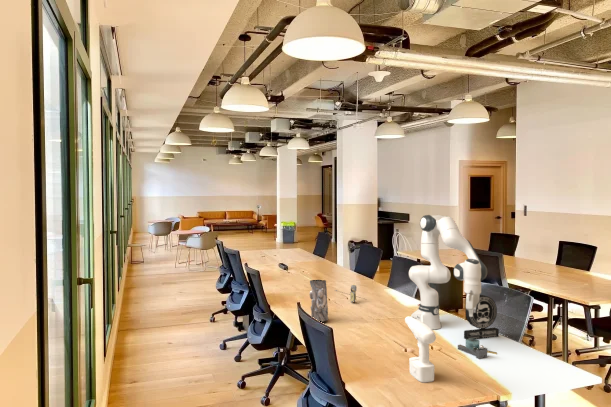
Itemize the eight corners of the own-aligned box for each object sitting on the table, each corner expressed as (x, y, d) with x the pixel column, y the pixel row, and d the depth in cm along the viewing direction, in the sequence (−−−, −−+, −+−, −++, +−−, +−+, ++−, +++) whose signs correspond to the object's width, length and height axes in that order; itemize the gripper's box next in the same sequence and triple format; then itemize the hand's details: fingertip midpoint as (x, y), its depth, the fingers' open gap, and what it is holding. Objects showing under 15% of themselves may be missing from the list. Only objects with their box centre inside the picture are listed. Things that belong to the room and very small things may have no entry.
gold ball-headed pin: (482, 352, 241) (482, 350, 241) (483, 351, 243) (483, 349, 243) (495, 354, 238) (495, 353, 238) (497, 353, 239) (497, 352, 239)
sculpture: (326, 324, 294) (326, 281, 293) (308, 323, 296) (307, 281, 296) (329, 319, 305) (329, 278, 305) (311, 318, 308) (311, 277, 307)
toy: (334, 302, 354) (334, 283, 353) (364, 299, 361) (364, 281, 361) (338, 305, 344) (338, 285, 344) (369, 302, 352) (369, 283, 352)
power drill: (415, 364, 225) (415, 314, 225) (440, 384, 202) (440, 328, 201) (399, 365, 223) (399, 315, 223) (422, 386, 200) (422, 329, 199)
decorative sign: (466, 340, 261) (466, 297, 260) (463, 338, 264) (463, 296, 263) (498, 336, 267) (498, 294, 266) (495, 335, 269) (495, 293, 269)
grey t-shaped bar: (455, 349, 245) (455, 338, 245) (463, 347, 248) (463, 336, 248) (479, 359, 231) (479, 346, 231) (487, 357, 234) (487, 344, 234)
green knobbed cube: (465, 347, 248) (465, 339, 248) (472, 346, 251) (472, 337, 251) (472, 350, 244) (472, 342, 244) (479, 348, 246) (479, 340, 246)
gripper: (475, 293, 236) (475, 319, 236) (481, 286, 254) (481, 311, 254) (462, 292, 239) (462, 318, 239) (469, 285, 257) (469, 309, 257)
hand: (472, 314), depth 247 cm, fingers open, 8 cm apart
